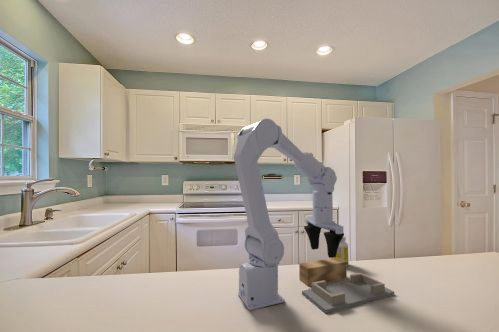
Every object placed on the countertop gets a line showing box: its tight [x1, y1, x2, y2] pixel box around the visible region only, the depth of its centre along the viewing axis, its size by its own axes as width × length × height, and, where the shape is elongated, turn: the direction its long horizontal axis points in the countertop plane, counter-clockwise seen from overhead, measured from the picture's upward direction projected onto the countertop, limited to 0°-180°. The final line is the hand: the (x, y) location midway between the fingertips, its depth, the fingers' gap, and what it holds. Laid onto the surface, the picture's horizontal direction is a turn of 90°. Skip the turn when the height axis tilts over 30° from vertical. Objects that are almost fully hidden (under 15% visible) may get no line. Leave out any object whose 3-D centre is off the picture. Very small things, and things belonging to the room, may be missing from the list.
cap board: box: [301, 272, 395, 314], centre depth 59 cm, size 22×9×3 cm, turn 112°
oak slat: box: [298, 258, 348, 287], centre depth 68 cm, size 14×4×5 cm, turn 112°
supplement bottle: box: [333, 235, 349, 268], centre depth 79 cm, size 5×5×10 cm
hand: (323, 252), depth 68 cm, fingers open, 7 cm apart
